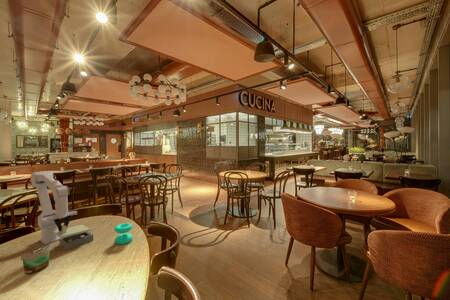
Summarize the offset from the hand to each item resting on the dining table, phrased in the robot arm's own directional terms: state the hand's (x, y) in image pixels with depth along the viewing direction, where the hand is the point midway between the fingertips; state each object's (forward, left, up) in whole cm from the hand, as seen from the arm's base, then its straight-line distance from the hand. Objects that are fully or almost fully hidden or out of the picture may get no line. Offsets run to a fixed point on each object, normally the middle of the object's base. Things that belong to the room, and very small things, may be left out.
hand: (62, 229), depth 121 cm
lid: (0, +5, -3) cm, 5 cm away
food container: (+15, -14, -11) cm, 23 cm away
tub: (0, +7, -10) cm, 12 cm away
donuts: (+23, +24, -11) cm, 35 cm away
